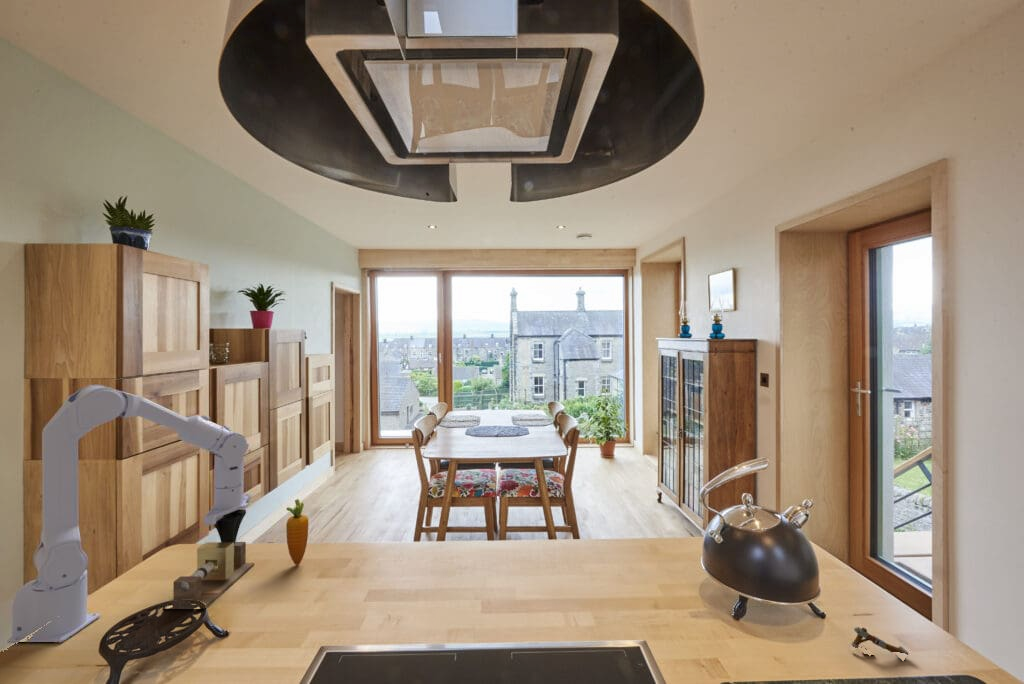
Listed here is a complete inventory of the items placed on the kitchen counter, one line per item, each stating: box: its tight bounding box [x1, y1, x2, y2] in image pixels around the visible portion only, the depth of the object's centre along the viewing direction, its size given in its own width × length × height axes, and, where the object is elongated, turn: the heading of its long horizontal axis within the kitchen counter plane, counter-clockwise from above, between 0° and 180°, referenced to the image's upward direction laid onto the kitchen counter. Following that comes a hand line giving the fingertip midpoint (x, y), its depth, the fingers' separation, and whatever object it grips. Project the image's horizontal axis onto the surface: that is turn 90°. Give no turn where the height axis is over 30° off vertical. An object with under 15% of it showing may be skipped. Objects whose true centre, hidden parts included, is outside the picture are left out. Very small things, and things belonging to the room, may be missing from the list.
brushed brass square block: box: [196, 541, 234, 580], centre depth 100 cm, size 3×6×7 cm, turn 91°
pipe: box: [179, 546, 236, 592], centre depth 99 cm, size 18×2×2 cm, turn 1°
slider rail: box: [170, 541, 255, 608], centre depth 99 cm, size 18×8×6 cm, turn 1°
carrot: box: [285, 499, 309, 566], centre depth 109 cm, size 5×5×15 cm
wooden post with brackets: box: [850, 626, 910, 656], centre depth 78 cm, size 2×8×4 cm, turn 80°
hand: (228, 545), depth 105 cm, fingers closed
